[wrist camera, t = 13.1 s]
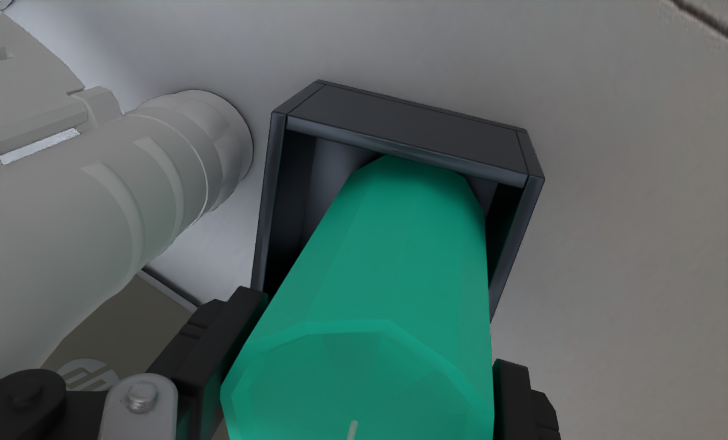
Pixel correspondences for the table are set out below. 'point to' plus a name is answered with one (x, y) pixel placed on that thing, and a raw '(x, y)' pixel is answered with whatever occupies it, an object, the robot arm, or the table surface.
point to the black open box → (370, 142)
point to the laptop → (123, 338)
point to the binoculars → (95, 190)
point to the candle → (376, 320)
